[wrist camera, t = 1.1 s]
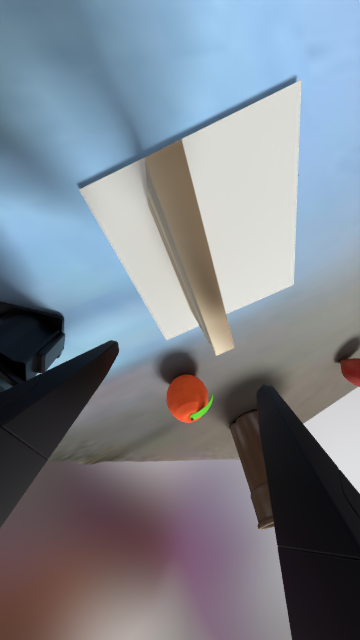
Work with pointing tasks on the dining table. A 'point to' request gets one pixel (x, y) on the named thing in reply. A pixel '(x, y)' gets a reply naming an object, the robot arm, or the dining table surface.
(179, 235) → the tile
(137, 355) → the dining table surface
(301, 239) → the dining table surface
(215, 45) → the dining table surface
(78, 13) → the dining table surface
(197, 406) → the clementine
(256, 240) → the mat
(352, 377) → the onion
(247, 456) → the plant pot
